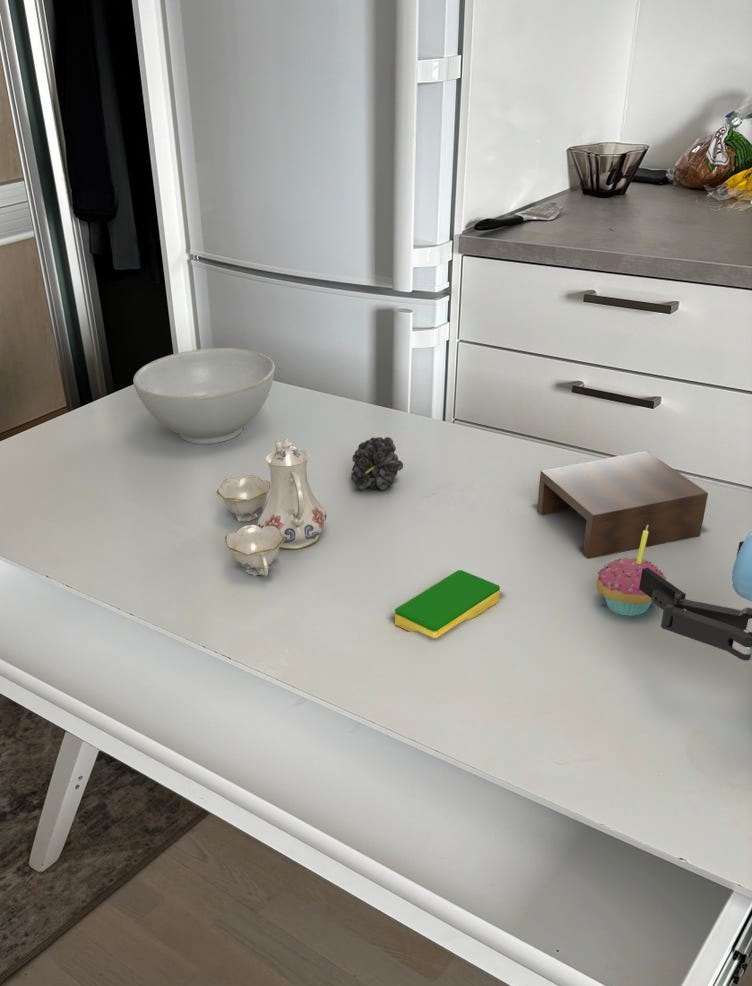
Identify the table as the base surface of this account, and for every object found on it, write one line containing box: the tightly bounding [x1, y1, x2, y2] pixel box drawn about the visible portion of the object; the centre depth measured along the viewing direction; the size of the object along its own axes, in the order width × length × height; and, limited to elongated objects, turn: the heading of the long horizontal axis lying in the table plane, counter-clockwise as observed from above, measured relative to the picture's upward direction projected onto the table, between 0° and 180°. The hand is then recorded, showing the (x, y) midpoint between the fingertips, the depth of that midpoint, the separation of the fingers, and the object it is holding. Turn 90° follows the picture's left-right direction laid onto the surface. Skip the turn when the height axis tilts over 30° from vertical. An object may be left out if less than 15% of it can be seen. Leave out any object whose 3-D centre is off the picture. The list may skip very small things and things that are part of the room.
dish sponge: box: [394, 569, 501, 639], centre depth 132 cm, size 7×14×2 cm, turn 132°
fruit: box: [350, 436, 404, 491], centre depth 166 cm, size 9×8×15 cm
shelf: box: [536, 450, 709, 559], centre depth 147 cm, size 18×16×7 cm
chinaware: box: [216, 438, 327, 577], centre depth 149 cm, size 28×17×17 cm, turn 12°
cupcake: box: [596, 525, 667, 617], centre depth 126 cm, size 9×8×12 cm
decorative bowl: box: [132, 347, 276, 445], centre depth 188 cm, size 27×27×12 cm
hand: (692, 564), depth 115 cm, fingers open, 13 cm apart
